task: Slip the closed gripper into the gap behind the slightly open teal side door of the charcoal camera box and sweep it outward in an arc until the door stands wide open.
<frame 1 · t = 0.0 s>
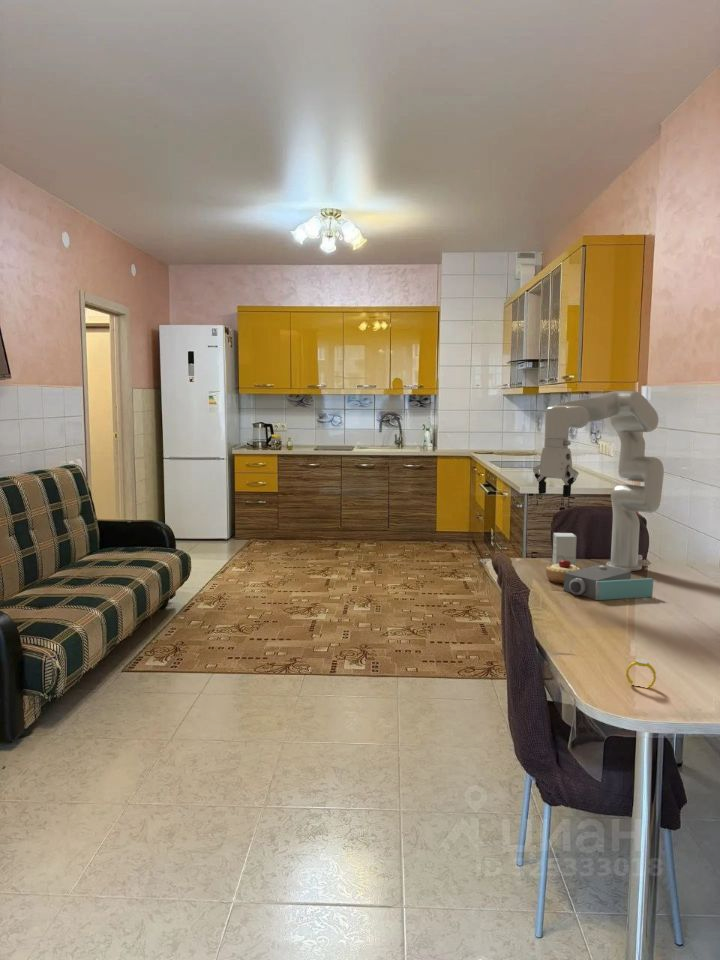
hand: (554, 495, 230), 31 cm above the table, tool pointing down, fingers open, 9 cm apart
camera body: (597, 589, 230), on the table
supplement box: (563, 567, 261), on the table
side door: (624, 589, 220), point 3 cm above the table, hinge at 25.0°
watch: (640, 687, 152), on the table
pastry: (563, 581, 242), on the table
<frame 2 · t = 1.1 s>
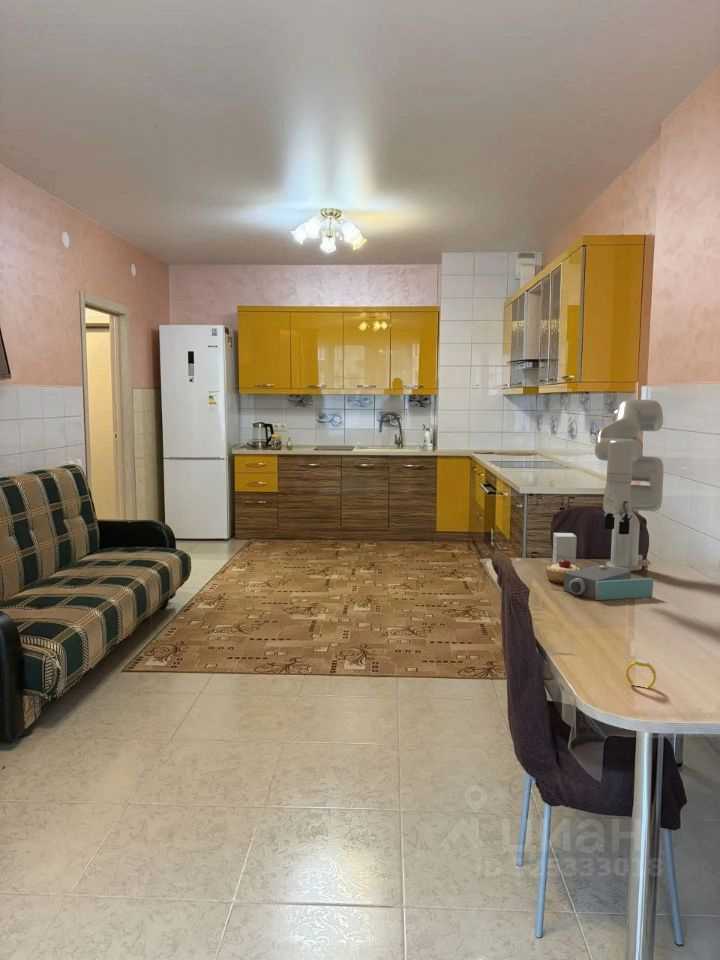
hand: (616, 531, 223), 21 cm above the table, tool pointing down, fingers open, 9 cm apart
nothing on the table moved.
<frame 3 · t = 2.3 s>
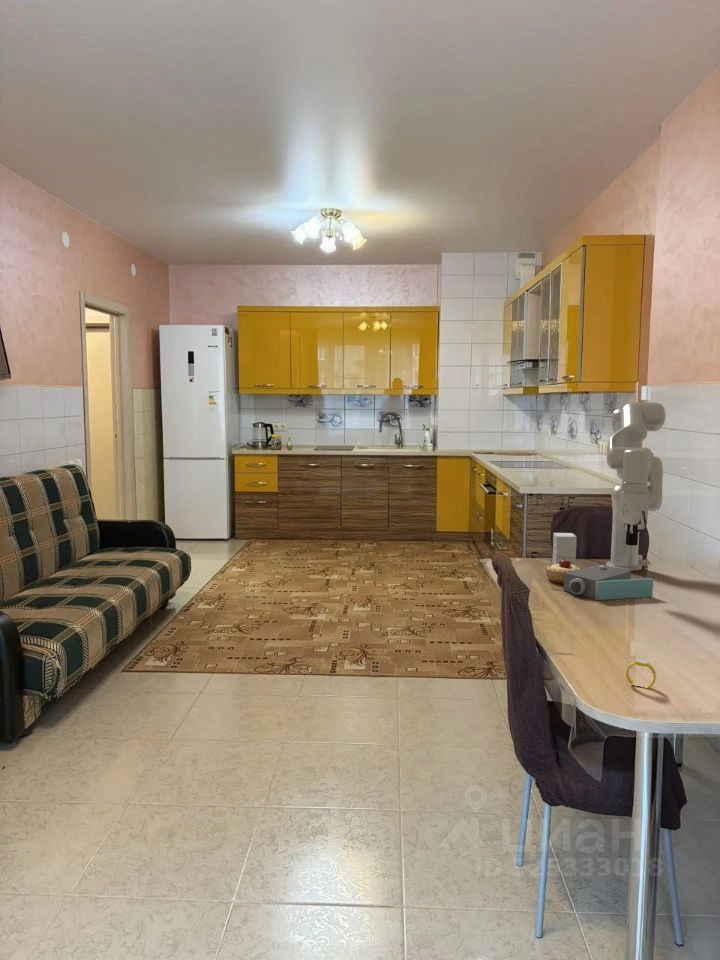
hand: (631, 544, 221), 17 cm above the table, tool pointing down, fingers closed
nothing on the table moved.
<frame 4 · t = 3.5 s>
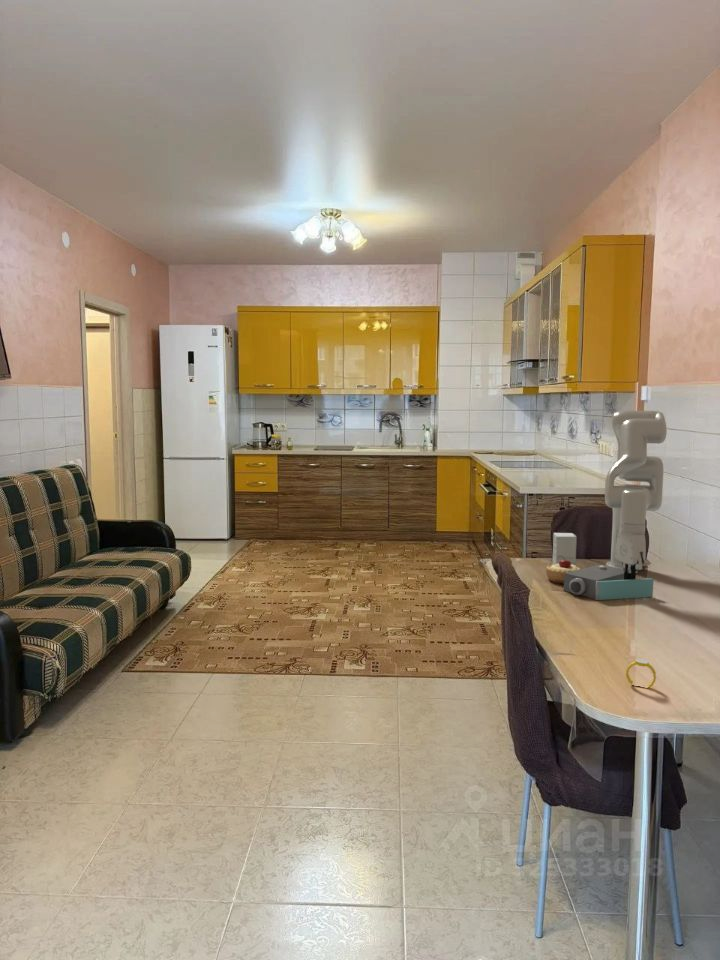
hand: (629, 584, 223), 4 cm above the table, tool pointing down, fingers closed
side door: (624, 589, 220), point 3 cm above the table, hinge at 25.3°
everything else where it was.
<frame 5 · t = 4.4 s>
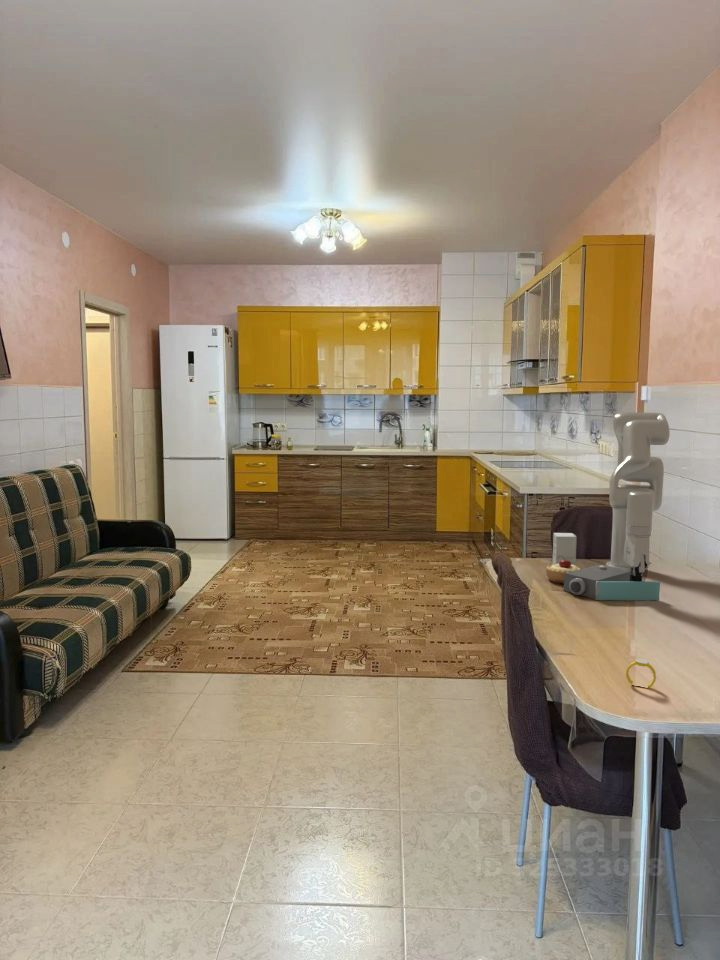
hand: (635, 586, 220), 4 cm above the table, tool pointing down, fingers closed
side door: (627, 590, 218), point 3 cm above the table, hinge at 36.9°, touching gripper
everything else where it was.
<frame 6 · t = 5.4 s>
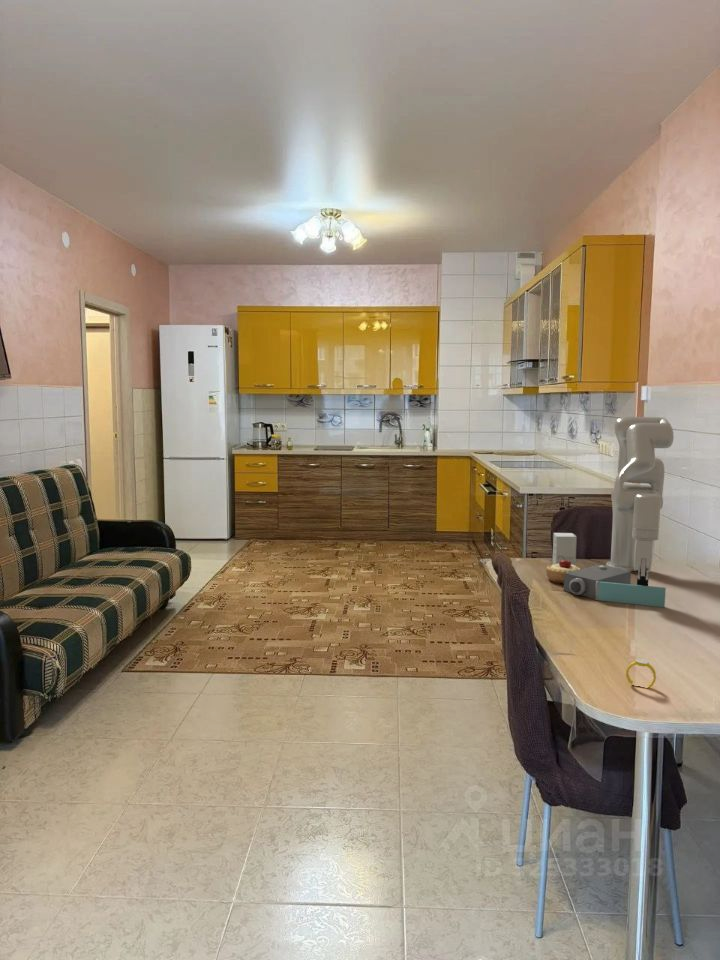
hand: (642, 591, 215), 4 cm above the table, tool pointing down, fingers closed
side door: (629, 593, 214), point 3 cm above the table, hinge at 58.9°, touching gripper
everything else where it was.
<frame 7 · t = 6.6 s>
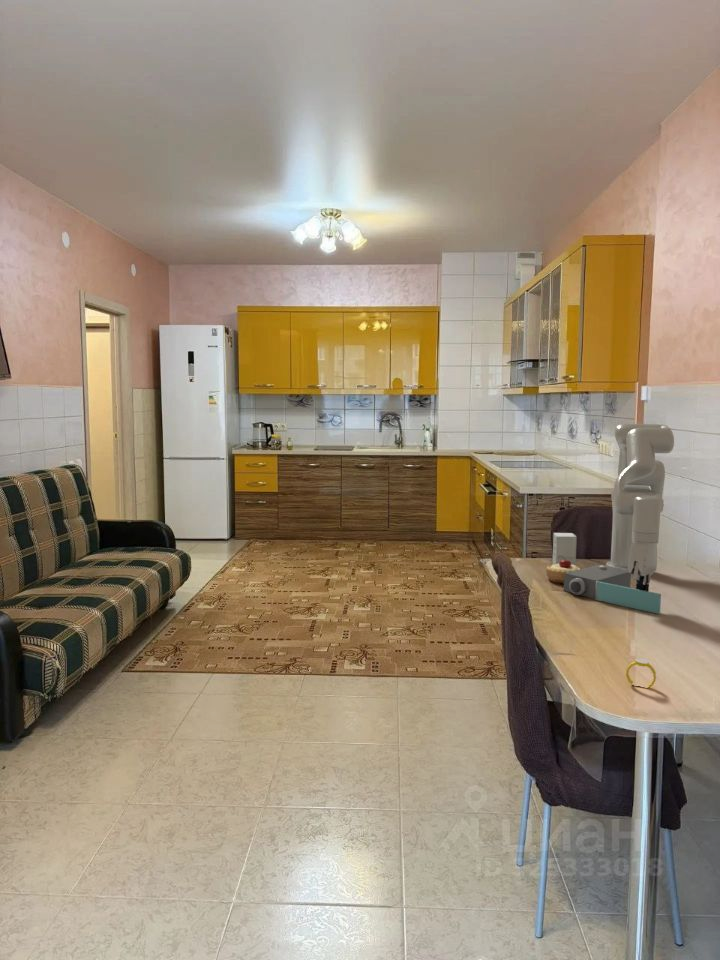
hand: (641, 596, 210), 4 cm above the table, tool pointing down, fingers closed
side door: (626, 596, 211), point 3 cm above the table, hinge at 83.8°, touching gripper
everything else where it was.
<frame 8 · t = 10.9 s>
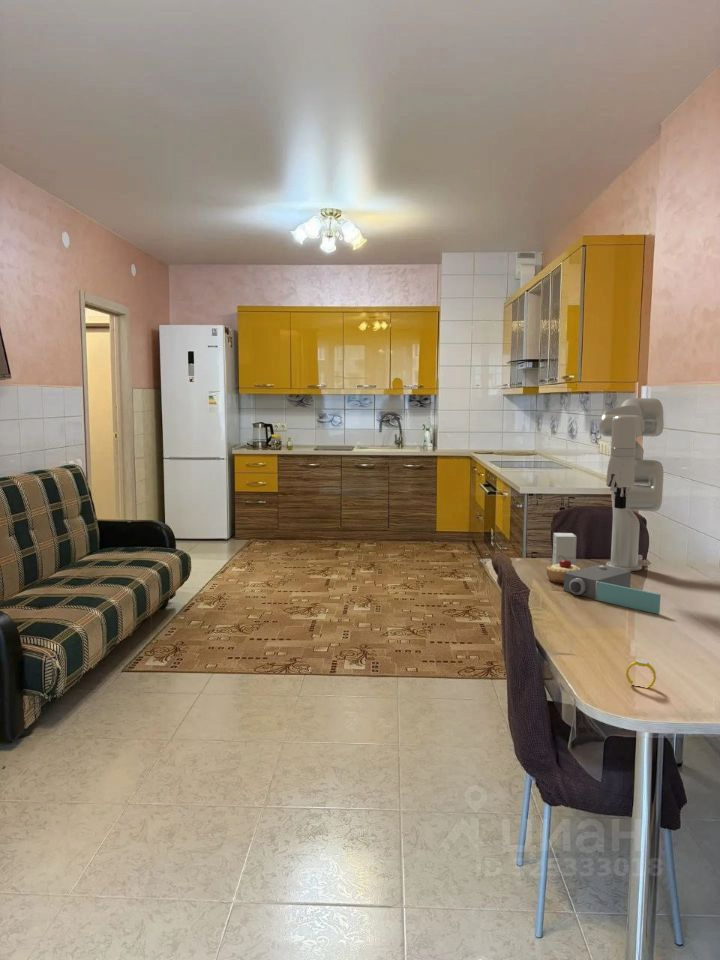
hand: (620, 508, 230), 27 cm above the table, tool pointing down, fingers closed
side door: (626, 597, 211), point 3 cm above the table, hinge at 84.8°
everything else where it was.
at the end: side door at +85° (first picture: +25°) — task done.
